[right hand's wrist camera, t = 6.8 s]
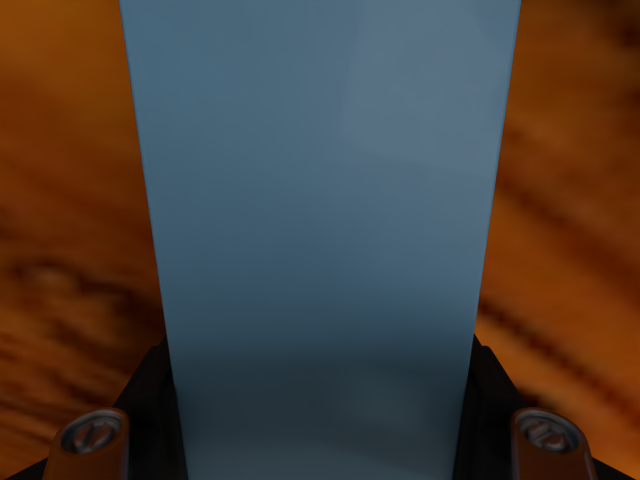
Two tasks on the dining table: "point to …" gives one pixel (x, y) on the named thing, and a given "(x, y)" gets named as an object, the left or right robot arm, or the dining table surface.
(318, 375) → the blue slab
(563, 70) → the dining table surface
